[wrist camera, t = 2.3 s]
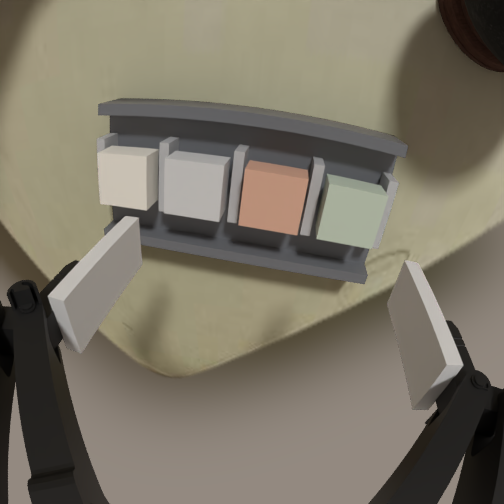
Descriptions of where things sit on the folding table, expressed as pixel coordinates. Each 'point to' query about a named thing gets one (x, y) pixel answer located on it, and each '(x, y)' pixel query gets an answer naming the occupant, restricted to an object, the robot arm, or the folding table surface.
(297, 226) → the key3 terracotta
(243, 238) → the keypad board
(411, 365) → the robot arm
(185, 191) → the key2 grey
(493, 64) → the black ball on stand
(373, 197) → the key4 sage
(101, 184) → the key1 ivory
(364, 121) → the folding table surface
